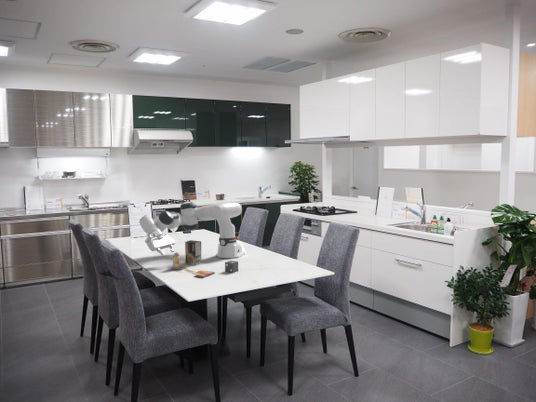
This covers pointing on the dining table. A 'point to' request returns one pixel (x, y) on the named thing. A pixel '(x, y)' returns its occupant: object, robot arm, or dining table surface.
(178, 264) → the pawn
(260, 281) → the dining table surface
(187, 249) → the coffee box
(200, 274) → the game board
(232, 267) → the die
